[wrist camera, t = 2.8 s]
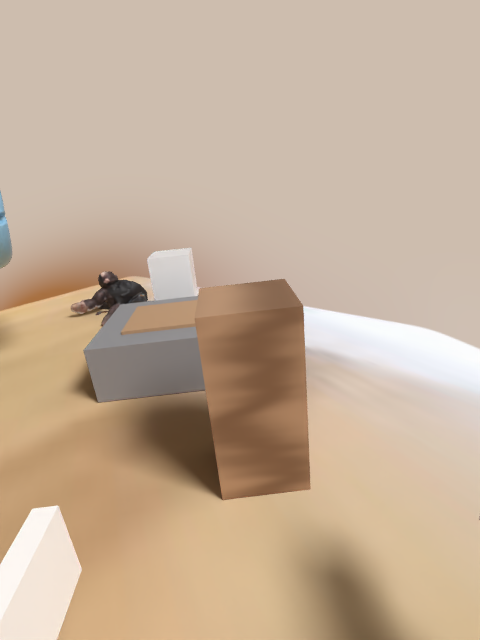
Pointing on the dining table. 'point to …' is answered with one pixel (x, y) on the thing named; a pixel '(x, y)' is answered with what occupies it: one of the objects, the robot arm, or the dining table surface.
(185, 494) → the dining table surface
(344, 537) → the dining table surface
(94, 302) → the stuffed animal
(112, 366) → the base block
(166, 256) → the white block
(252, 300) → the walnut block
